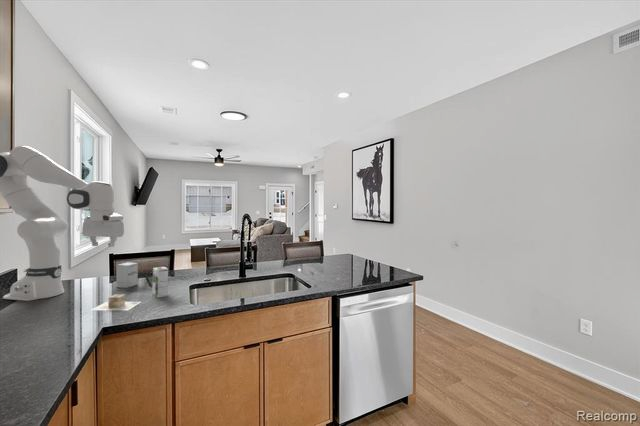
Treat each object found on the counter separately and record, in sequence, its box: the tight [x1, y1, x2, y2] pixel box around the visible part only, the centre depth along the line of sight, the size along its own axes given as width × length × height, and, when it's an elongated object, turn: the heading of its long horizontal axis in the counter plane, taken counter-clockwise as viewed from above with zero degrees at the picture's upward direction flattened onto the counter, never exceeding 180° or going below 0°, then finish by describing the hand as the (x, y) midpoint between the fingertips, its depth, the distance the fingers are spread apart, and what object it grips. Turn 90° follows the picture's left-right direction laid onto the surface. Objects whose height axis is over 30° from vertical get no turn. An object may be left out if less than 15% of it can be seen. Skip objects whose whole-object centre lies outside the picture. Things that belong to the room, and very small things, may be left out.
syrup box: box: [151, 266, 169, 299], centre depth 146 cm, size 6×6×14 cm
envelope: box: [90, 301, 142, 311], centre depth 130 cm, size 16×11×1 cm
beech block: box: [108, 293, 126, 307], centre depth 130 cm, size 4×4×4 cm
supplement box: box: [115, 261, 139, 289], centre depth 161 cm, size 7×7×13 cm
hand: (103, 246), depth 132 cm, fingers open, 8 cm apart
